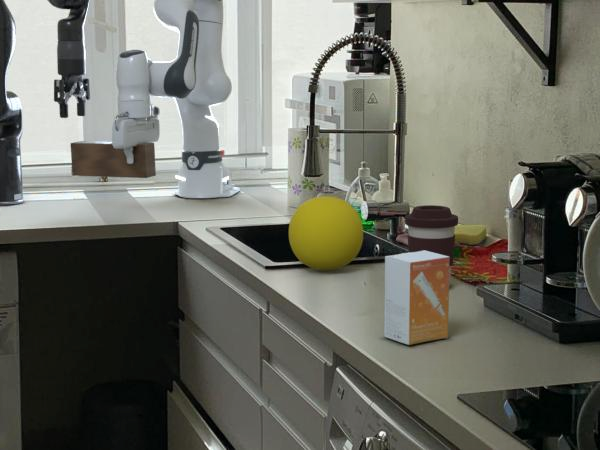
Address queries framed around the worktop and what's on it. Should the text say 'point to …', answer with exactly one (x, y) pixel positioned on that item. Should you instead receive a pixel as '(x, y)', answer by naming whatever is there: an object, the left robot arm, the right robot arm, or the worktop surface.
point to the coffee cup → (432, 230)
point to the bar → (111, 160)
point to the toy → (325, 233)
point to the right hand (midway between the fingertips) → (137, 161)
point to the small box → (416, 297)
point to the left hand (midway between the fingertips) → (72, 116)
